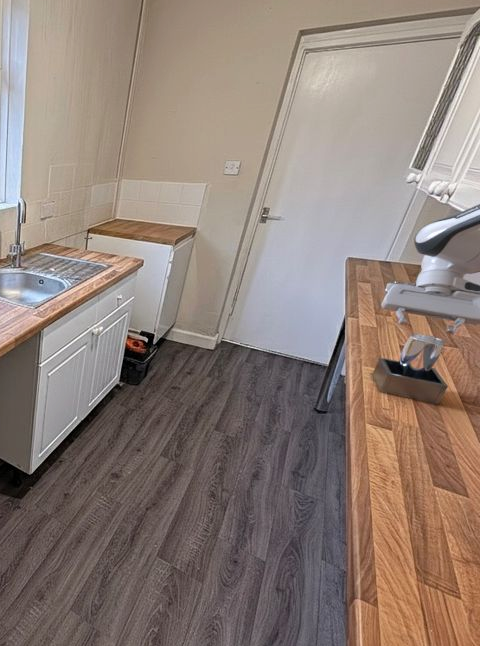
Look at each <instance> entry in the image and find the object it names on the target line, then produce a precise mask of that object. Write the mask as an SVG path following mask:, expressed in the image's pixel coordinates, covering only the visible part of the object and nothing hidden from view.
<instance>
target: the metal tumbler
mask: <svg viewBox="0 0 480 646" xmlns="http://www.w3.org/2000/svg"><path fill="white" fill-rule="evenodd" d="M445 344H446V341H445V340H443V339H441V338H439V337H435V336H433V335H428V334H423V333H411V334H410V336H409V337H408V338H407V340H406V342H405V343H404V345H403V347H402V350H401V353H400V356H399V360H398V361H399V366H398V369H397V372H396V375H401V376H406V377H411V378H416V379H420V380H422V379H423V378H424V376H425V375H426V374H427V373H428V371H429V370H430V369H431V368H434V366H435V365H436V363H437V361H438V360H439V358H440V356H441V354H442V352H443V348H444V346H445Z"/></svg>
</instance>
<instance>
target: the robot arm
mask: <svg viewBox="0 0 480 646" xmlns="http://www.w3.org/2000/svg"><path fill="white" fill-rule="evenodd" d="M413 241H414V246H415V249H416V251H417V253H418V254H419V255H423V258H422V261H421V264H420V266H421V267H420V268H421V271H420V272H419V273H418V275H417V278H416V281H415V283H414V282H408V281H407V282H406V281H400V280H395V281H390V282H388V283H386V285H385V288H384V289H385V290H384V291H385V292H386V294H385V295H384V297H383V300H382V301H381V304H380V305H381V307H382V309H384V310H389V311H395V315H396V317H397V318H398V323H397V324H398V325H401V326H406V325H407V324H408V321H409V317H406V316H405V315H404V313H406V314H411V315H416V316H417V315H418V316H423V317H428V318H434V319H438V320H444V321H449V322H450V321H451V322H453V325H448V326H447V327H446V328H445V332H444V333H445V334H449V335H454V334H456V331H457V329H458V328H460V327H461V326H462V325H463V324H468V325H472V326H477V325H480V284H478V283H476V282H473V281H470V280H467V279H465V278H464V276H466V275H467V274H468V275H472V274H477V273H480V203H479V204H477V205H473V206H472V207H470V208H467V209H464V210H462V211H460V212H458V213H456V214H453V215H450V216H447V217H443V218H441V219H437V220H434V221H432V222H429V223H428V224H426V225H424V226H423V227H422V228H421V229H419V230H418V231H417V233H416V234H415V236H414V240H413Z"/></svg>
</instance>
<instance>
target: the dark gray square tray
mask: <svg viewBox="0 0 480 646" xmlns="http://www.w3.org/2000/svg"><path fill="white" fill-rule="evenodd" d="M398 366H399V360H395V359H390V358H383V357H379V358H378V361H377V363H376V365H375V368H374V369H373V372H372V377H373V379H374V381H375V383H376V387H377V388H378V390H379V392H380V393H385V394H388V395H392V396H393V395H394V396H398V397H402V398H407V399H411V400H415V401H420V402H424V403H429V404H433V405H439V404H440V402H441V400H442V398H443V396H444V395H445V393H446V391H447V389H448V387H449V386H448V384H447V383H446V381H445V380H444V378H443V377H442V376H441V375H440V374H439V372H438V370H436V368H435V367H432V368H431V369H430V370H429V371H428V373H427V374H426V375H425V376H424V378H423V379H422V380H420V379H416V378H411V377H406V376H401V375H396V372H397V369H398Z"/></svg>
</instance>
